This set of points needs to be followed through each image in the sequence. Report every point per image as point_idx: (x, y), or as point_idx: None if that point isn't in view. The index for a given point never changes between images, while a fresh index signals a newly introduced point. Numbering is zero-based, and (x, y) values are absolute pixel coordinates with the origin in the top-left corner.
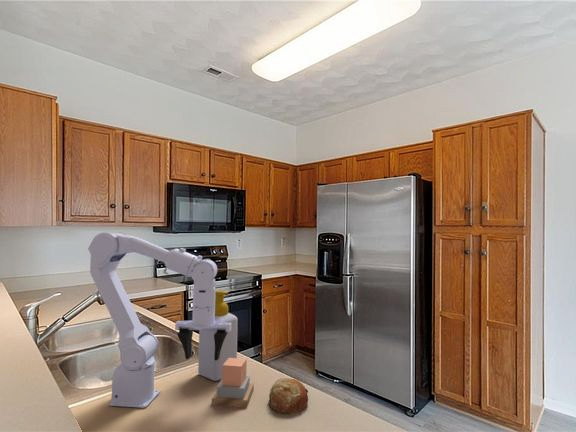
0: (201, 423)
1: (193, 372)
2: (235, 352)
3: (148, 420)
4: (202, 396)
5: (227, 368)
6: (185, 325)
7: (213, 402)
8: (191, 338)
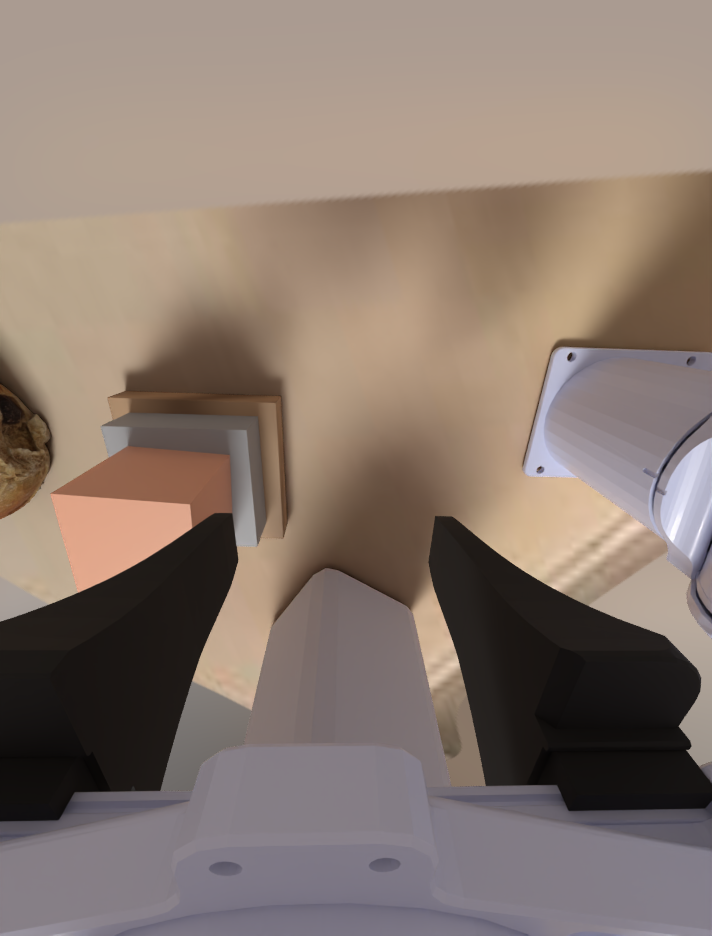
0: (270, 240)
1: (433, 620)
2: (253, 703)
3: (514, 250)
4: (342, 460)
5: (162, 491)
6: (687, 881)
7: (270, 399)
8: (470, 689)
